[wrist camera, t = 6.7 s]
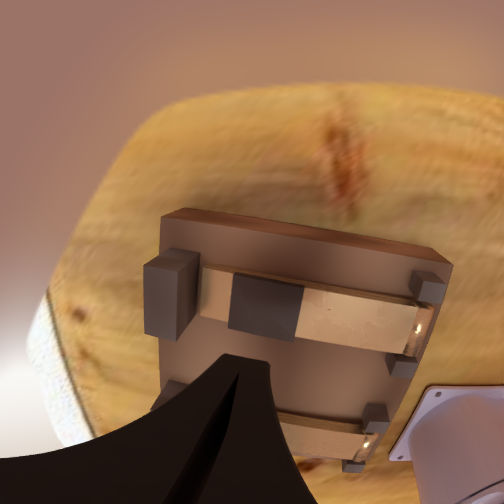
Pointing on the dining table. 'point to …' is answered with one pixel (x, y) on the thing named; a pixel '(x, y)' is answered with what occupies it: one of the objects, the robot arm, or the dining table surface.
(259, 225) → the brown strap fixture board
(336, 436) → the far strap
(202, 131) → the dining table surface
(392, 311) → the near strap
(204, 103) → the dining table surface
